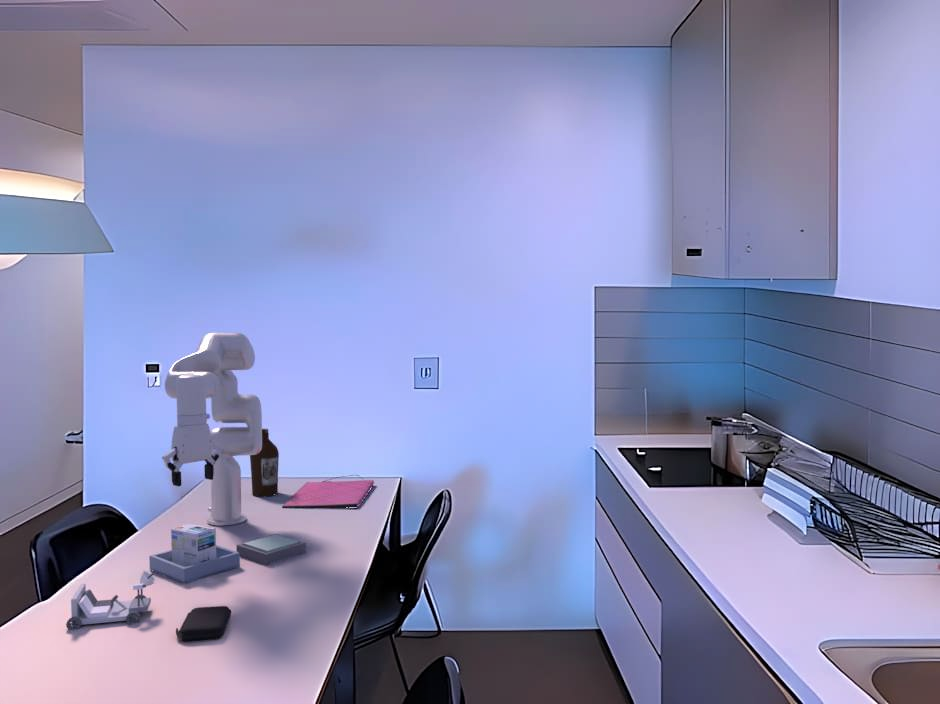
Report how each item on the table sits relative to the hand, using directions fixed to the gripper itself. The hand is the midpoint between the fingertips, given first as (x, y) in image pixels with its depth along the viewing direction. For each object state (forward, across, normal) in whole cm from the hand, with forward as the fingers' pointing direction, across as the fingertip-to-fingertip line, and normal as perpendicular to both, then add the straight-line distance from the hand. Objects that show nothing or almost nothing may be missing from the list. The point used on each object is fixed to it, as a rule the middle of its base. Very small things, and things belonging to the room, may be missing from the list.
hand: (193, 482), depth 214 cm
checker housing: (+24, -21, +6) cm, 32 cm away
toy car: (+24, +30, +15) cm, 42 cm away
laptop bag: (+25, -79, -34) cm, 90 cm away
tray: (+24, 0, 0) cm, 24 cm away
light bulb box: (+24, 0, 0) cm, 24 cm away
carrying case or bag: (+24, +21, +37) cm, 49 cm away
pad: (+22, -21, +6) cm, 31 cm away
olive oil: (+25, -64, -55) cm, 88 cm away
